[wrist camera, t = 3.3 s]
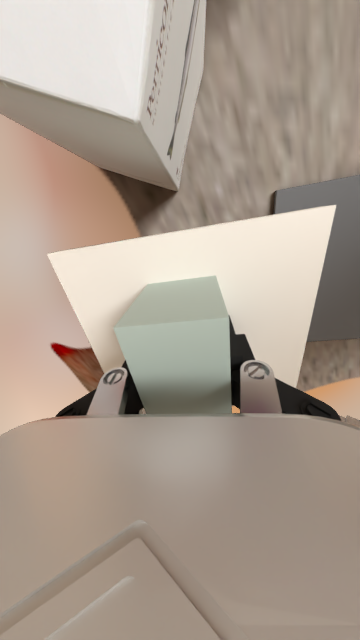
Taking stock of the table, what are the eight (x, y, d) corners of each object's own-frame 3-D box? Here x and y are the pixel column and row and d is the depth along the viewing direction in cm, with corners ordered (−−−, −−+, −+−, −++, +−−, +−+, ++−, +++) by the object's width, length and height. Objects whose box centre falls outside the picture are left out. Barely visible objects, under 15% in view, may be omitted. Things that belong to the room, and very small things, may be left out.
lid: (310, 207, 10) (498, 186, 4) (282, 376, 16) (336, 475, 10) (70, 248, 12) (-64, 278, 6) (126, 382, 18) (88, 466, 12)
